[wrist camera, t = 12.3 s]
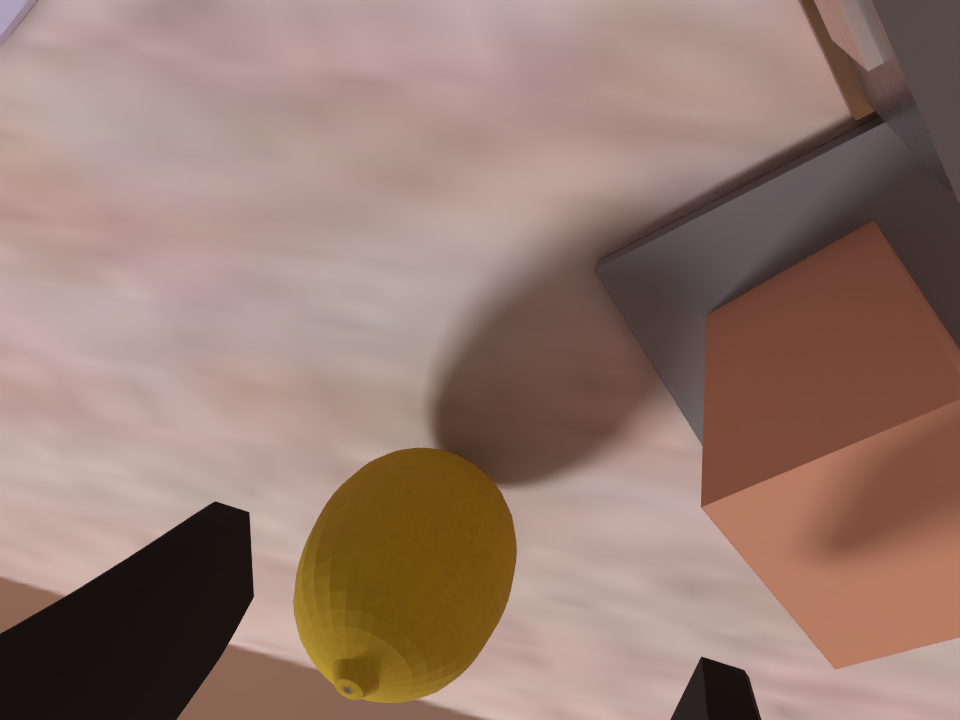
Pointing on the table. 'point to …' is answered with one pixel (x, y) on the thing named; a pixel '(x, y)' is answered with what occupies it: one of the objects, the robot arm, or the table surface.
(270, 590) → the table surface
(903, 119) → the parts unit
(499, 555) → the lemon
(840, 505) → the terracotta block
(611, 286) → the mat
